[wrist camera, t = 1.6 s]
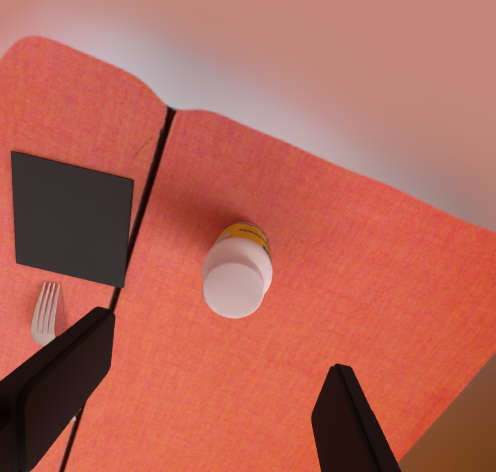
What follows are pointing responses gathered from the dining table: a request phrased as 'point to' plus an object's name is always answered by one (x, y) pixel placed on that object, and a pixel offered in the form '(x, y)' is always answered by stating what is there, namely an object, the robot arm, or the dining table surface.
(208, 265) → the supplement bottle
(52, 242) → the mat
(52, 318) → the fork
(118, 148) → the dining table surface
